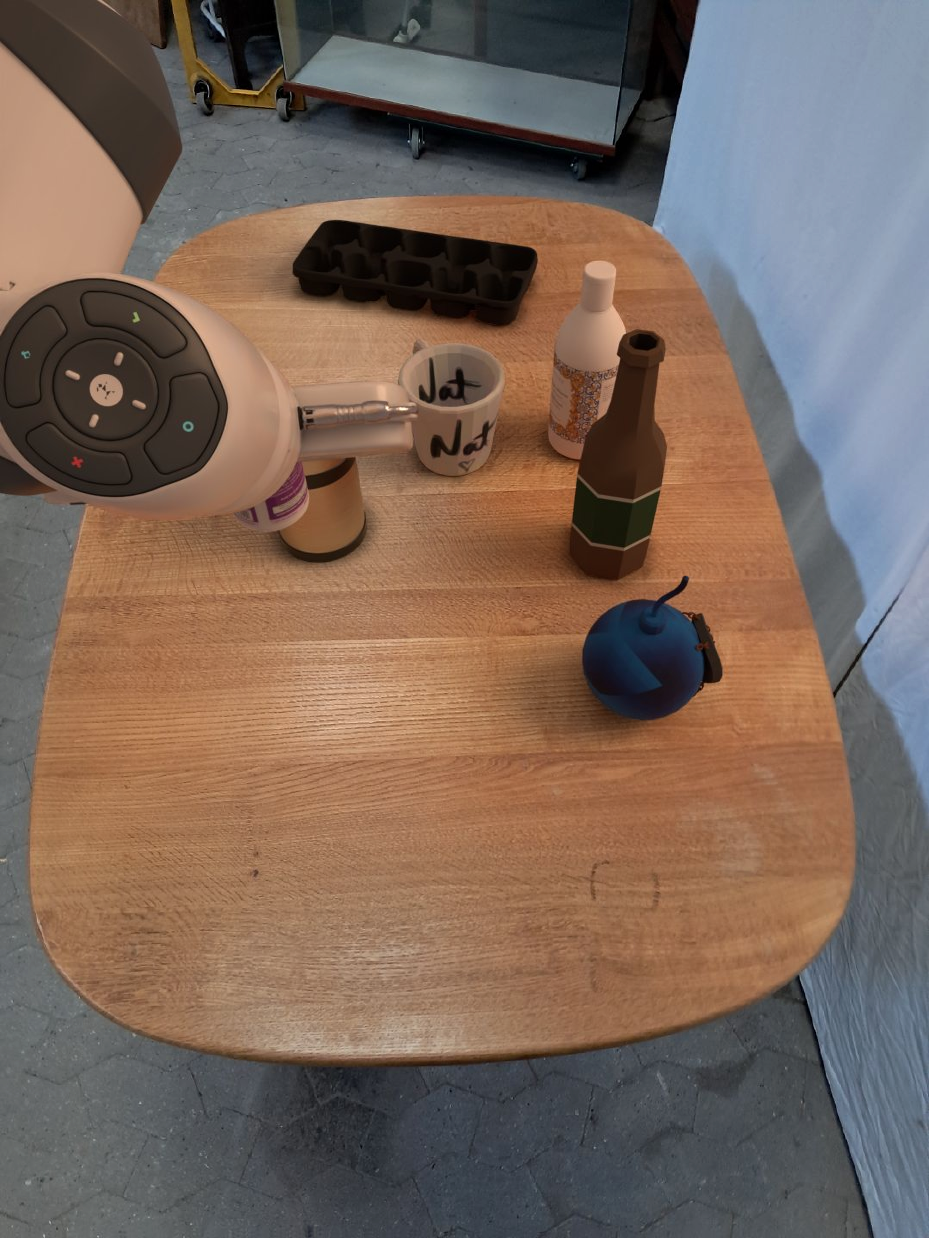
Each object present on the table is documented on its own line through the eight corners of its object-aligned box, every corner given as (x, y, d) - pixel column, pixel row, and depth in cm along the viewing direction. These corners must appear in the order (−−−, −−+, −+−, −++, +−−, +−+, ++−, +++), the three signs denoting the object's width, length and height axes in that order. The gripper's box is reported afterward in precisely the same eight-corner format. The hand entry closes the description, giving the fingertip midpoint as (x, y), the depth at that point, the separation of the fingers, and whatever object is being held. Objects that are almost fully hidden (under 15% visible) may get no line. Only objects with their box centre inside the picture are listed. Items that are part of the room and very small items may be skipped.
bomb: (720, 731, 75) (766, 624, 63) (592, 749, 74) (613, 644, 62) (685, 636, 81) (721, 521, 69) (566, 652, 80) (581, 539, 68)
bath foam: (536, 429, 97) (546, 259, 81) (592, 410, 99) (613, 240, 83) (567, 470, 94) (585, 300, 78) (625, 449, 95) (654, 279, 79)
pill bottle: (307, 474, 64) (283, 361, 56) (313, 529, 61) (288, 417, 53) (230, 484, 64) (195, 372, 56) (232, 540, 60) (195, 429, 53)
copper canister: (294, 573, 86) (268, 474, 76) (269, 513, 91) (241, 411, 80) (379, 545, 88) (365, 445, 77) (350, 487, 93) (333, 385, 82)
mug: (427, 499, 91) (422, 423, 83) (375, 410, 100) (365, 333, 92) (520, 468, 94) (524, 391, 86) (462, 384, 102) (460, 307, 94)
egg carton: (310, 243, 120) (305, 216, 117) (537, 248, 118) (539, 221, 115) (285, 324, 109) (280, 296, 106) (534, 331, 108) (536, 303, 105)
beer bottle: (593, 510, 90) (623, 297, 71) (662, 544, 87) (714, 332, 68) (551, 558, 87) (571, 348, 67) (622, 595, 84) (664, 387, 64)
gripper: (413, 342, 45) (410, 376, 58) (-10, 376, 44) (88, 404, 57) (425, 470, 46) (420, 475, 59) (11, 508, 45) (103, 504, 58)
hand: (254, 440), depth 58 cm, fingers closed on pill bottle, 5 cm apart
